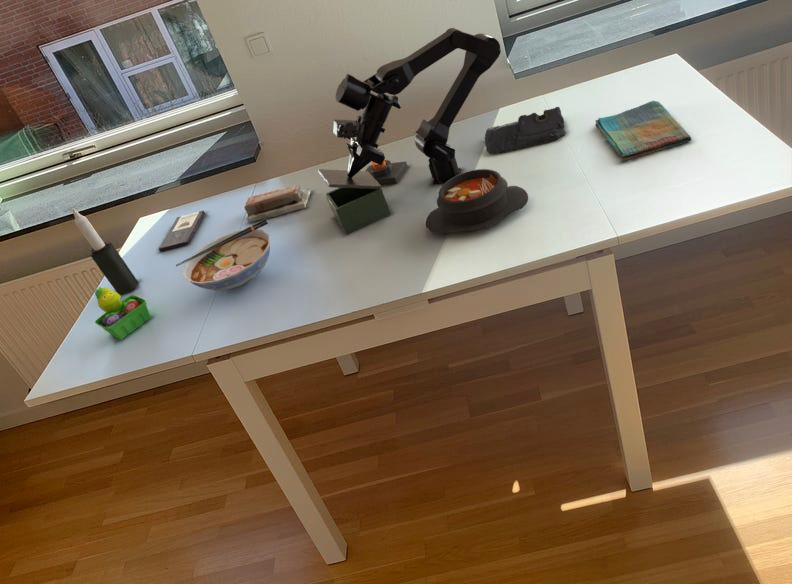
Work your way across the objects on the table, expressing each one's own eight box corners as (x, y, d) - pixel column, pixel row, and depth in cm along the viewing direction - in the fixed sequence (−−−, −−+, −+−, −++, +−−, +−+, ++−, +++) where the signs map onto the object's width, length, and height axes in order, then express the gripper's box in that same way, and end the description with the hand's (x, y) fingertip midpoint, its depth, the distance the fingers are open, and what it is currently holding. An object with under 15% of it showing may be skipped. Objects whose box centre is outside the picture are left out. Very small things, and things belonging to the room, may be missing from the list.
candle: (122, 285, 192) (66, 206, 177) (139, 280, 192) (84, 200, 176) (117, 296, 188) (59, 216, 173) (134, 290, 188) (78, 210, 172)
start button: (388, 163, 197) (386, 157, 195) (383, 169, 194) (381, 164, 193) (376, 164, 198) (374, 159, 197) (372, 171, 196) (369, 165, 195)
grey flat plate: (329, 187, 170) (329, 184, 170) (318, 172, 179) (318, 169, 179) (380, 189, 175) (381, 185, 175) (367, 174, 184) (368, 171, 184)
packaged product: (240, 209, 197) (247, 192, 204) (247, 224, 200) (255, 207, 207) (299, 193, 193) (305, 177, 201) (306, 208, 196) (311, 192, 204)
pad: (408, 167, 199) (404, 155, 196) (396, 183, 193) (392, 171, 190) (371, 171, 203) (367, 160, 201) (359, 187, 197) (354, 176, 195)
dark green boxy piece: (346, 234, 178) (335, 209, 174) (335, 217, 187) (324, 193, 183) (391, 214, 180) (381, 189, 175) (377, 198, 189) (368, 174, 184)
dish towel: (659, 107, 183) (658, 97, 182) (693, 141, 165) (692, 131, 164) (595, 127, 185) (593, 118, 183) (621, 163, 167) (620, 153, 165)
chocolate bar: (158, 248, 201) (177, 217, 215) (160, 251, 202) (178, 220, 216) (186, 241, 200) (203, 210, 213) (188, 244, 200) (205, 213, 214)
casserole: (521, 183, 173) (514, 152, 168) (537, 219, 158) (529, 186, 153) (424, 213, 175) (414, 183, 170) (431, 251, 161) (420, 219, 155)
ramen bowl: (200, 322, 166) (182, 295, 161) (188, 281, 183) (172, 255, 178) (296, 275, 170) (282, 247, 165) (276, 240, 187) (262, 213, 182)
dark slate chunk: (486, 133, 201) (482, 118, 198) (562, 115, 196) (560, 98, 193) (485, 157, 189) (481, 141, 186) (567, 138, 184) (564, 121, 181)
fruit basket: (119, 345, 168) (91, 308, 161) (103, 335, 174) (75, 300, 167) (157, 316, 174) (132, 279, 167) (141, 308, 179) (116, 272, 172)
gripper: (334, 95, 174) (311, 154, 179) (354, 115, 160) (329, 178, 165) (373, 113, 180) (350, 169, 185) (396, 133, 166) (370, 193, 171)
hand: (349, 177), depth 177 cm, fingers closed, pressing on grey flat plate
